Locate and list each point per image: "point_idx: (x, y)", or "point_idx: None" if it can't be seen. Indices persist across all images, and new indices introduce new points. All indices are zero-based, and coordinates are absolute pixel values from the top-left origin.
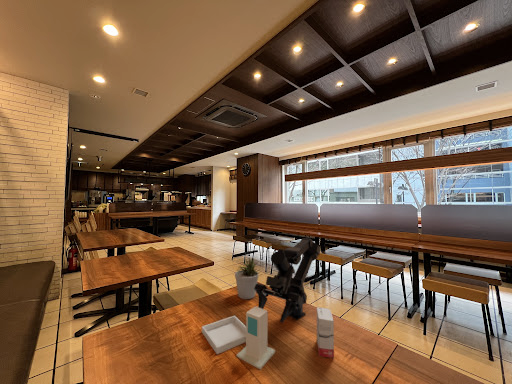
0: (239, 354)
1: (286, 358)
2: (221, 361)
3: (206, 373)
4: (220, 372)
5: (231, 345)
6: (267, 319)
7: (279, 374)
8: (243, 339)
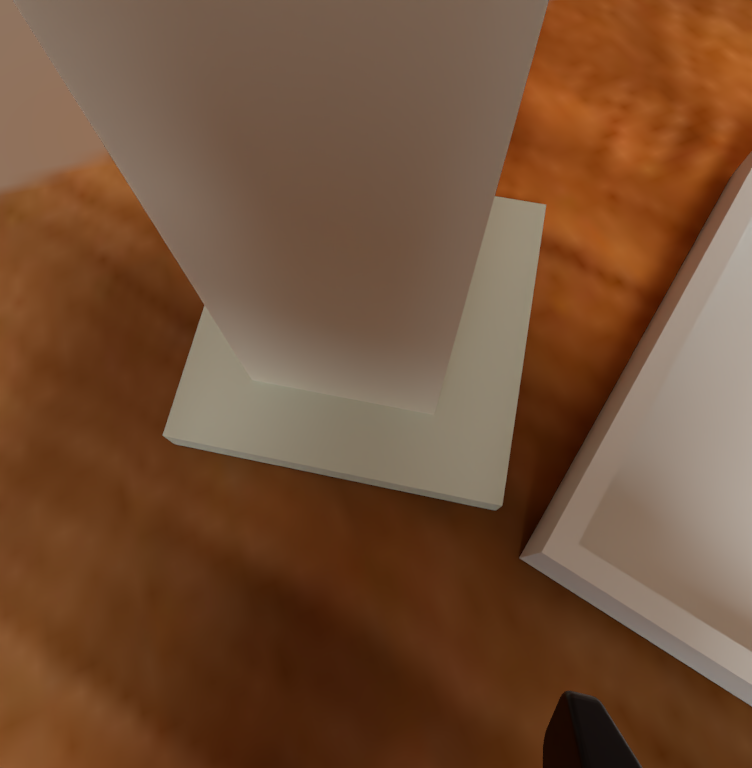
0: (523, 219)
1: (39, 419)
2: (644, 140)
3: (666, 7)
4: (571, 50)
5: (682, 277)
6: (77, 95)
7: (84, 209)
8: (610, 414)
